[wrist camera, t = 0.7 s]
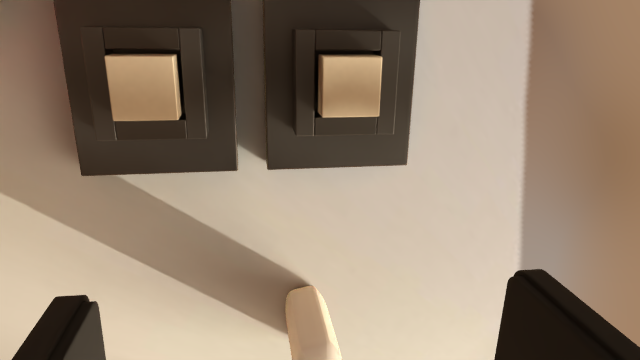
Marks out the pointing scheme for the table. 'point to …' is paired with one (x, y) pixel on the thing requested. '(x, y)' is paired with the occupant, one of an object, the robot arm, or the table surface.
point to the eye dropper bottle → (310, 326)
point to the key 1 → (143, 86)
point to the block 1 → (194, 81)
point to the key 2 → (349, 85)
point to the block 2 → (302, 81)
